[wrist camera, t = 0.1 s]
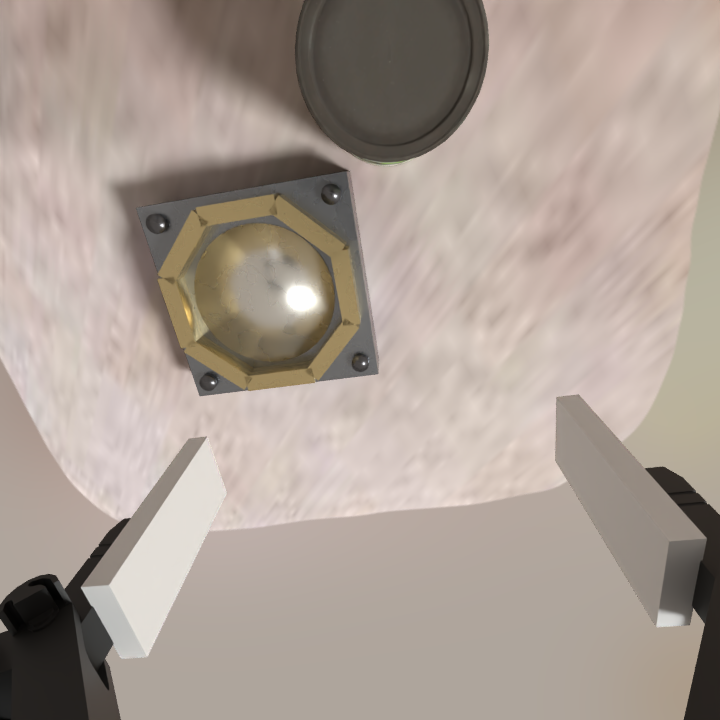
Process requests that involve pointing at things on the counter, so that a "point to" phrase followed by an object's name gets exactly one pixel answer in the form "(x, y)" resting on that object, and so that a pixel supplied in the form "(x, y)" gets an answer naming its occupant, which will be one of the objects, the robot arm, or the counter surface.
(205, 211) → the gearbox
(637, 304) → the counter surface
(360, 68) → the coffee can
